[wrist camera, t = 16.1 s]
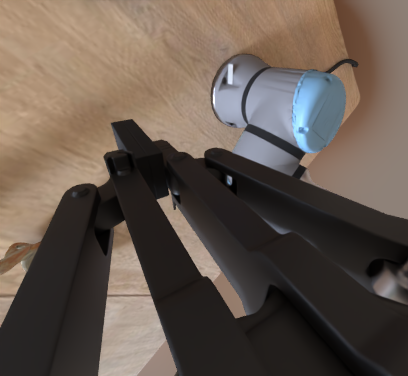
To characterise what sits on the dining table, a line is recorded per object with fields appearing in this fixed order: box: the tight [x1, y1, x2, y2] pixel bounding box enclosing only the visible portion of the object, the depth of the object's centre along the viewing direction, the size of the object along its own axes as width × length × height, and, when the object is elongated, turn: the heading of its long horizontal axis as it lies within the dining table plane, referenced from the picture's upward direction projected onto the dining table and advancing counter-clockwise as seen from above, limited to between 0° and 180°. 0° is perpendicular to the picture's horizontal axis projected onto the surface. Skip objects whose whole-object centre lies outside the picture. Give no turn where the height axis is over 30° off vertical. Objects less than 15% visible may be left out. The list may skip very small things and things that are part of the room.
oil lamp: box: [0, 242, 41, 275], centre depth 42 cm, size 9×21×10 cm, turn 37°
